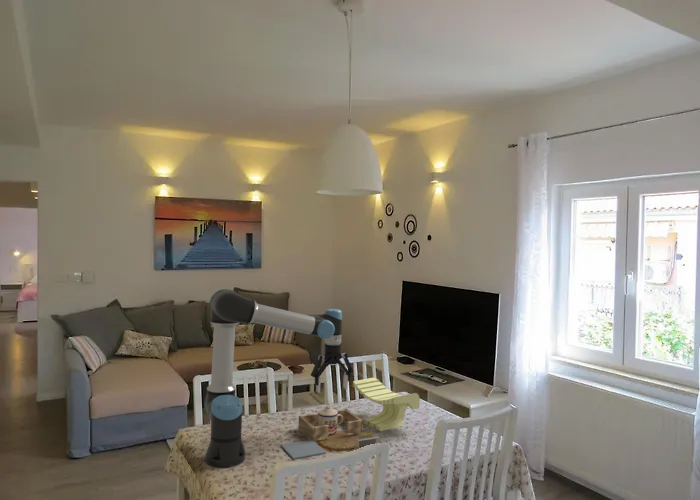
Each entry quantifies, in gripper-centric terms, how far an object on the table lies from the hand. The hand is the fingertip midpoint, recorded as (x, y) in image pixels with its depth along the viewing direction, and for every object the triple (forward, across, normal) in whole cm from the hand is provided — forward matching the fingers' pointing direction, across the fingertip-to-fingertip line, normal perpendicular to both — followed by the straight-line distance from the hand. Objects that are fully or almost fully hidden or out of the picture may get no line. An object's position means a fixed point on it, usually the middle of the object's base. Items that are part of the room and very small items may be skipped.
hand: (331, 390), depth 231 cm
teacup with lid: (+19, 0, 0) cm, 19 cm away
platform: (+19, +6, -22) cm, 30 cm away
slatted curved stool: (+19, +28, -1) cm, 34 cm away
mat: (+18, -19, -14) cm, 30 cm away
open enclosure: (+19, 0, 0) cm, 19 cm away
